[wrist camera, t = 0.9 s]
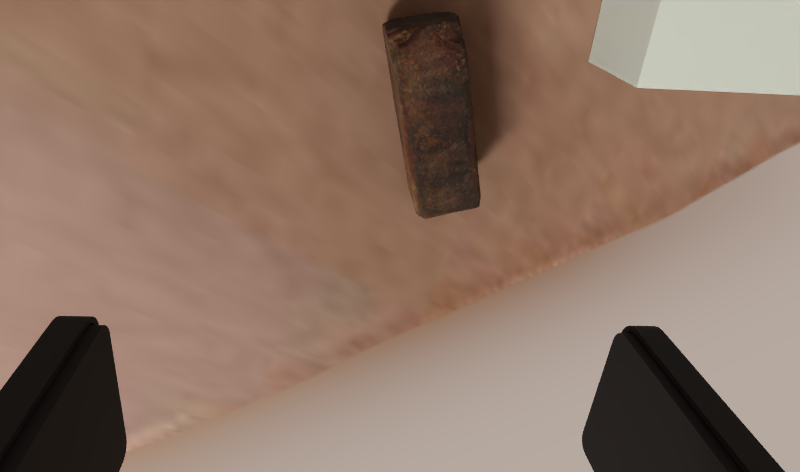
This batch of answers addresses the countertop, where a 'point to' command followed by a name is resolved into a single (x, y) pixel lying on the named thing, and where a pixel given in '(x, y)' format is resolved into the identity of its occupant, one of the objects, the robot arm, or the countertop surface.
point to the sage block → (701, 44)
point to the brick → (434, 111)
